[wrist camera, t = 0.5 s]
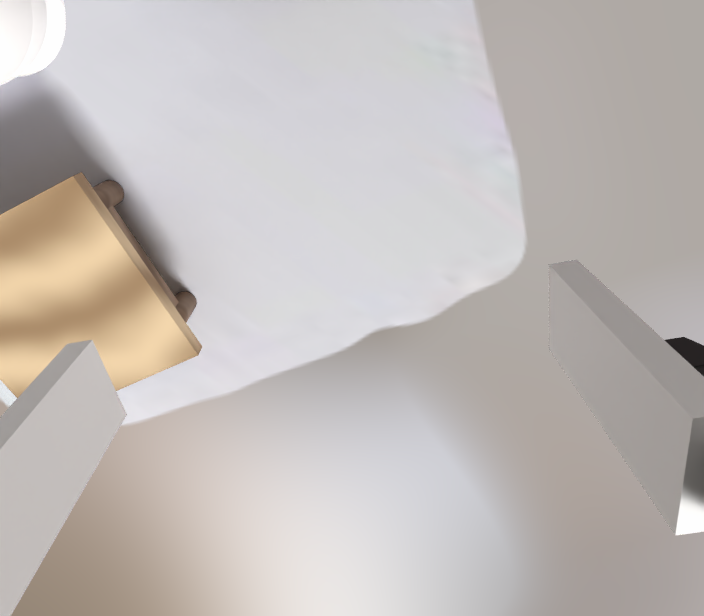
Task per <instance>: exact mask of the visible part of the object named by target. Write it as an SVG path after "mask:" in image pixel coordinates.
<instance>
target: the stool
mask: <svg viewBox="0 0 704 616" xmlns="http://www.w3.org/2000/svg"><path fill="white" fill-rule="evenodd" d="M123 198H124V191H123V189H122V187H121V186H120V185H119V184H118V183H117V182H115V181H112V180H107V181H104V182H102V183H100V184H98V185H97V186H95V187H93V188H92V186H91V185H90V183H89V182H88V180H87V179H86V178H85V176H84V175H83V173H82V172H81V173H79V174H76V175H74V176H72V177H70V178H68V179H66V180H65V181H63V182H61V183H59V184H57V185H55V186H53V187H51V188H50V189H48V190H46V191H44V192H42V193H40V194H38V195H36V196H35V197H33V198H31V199H29V200H27V201H25V202H23V203H21V204H19V205H18V206H16V207H14V208H12V209H10V210H8V211H6V212H4V213H3V214H1V215H0V380H1V381H2V382H3V383H4V384H5V385H6V386H7V387H8V388H9V390H10V391H11V392H12V393H13V394H14V395H15V396H16V397H17V398H18V397H19V396H20V395H21V394H22V393H23V392H24V391H25V390H26V388H27V387H28V386H29V385H30V384H31V383H32V382H33V381H34V380H35V379H36V377H37V376H38V375H39V374H40V373H41V372H42V371H43V370H44V369H45V368H46V366H47V365H48V364H49V363H50V362H51V361H52V360H53V359H54V358H55V357H56V356H57V354H58V353H59V352H60V351H61V350H62V349H63V348H64V347H65V346H66V345H67V344H69V343H75V342H81V341H87V340H93V342H94V345H95V347H96V349H97V351H98V353H99V355H100V358H101V360H102V362H103V364H104V366H105V368H106V371H107V373H108V375H109V377H110V379H111V381H112V384H113V386H114V388H115V390H116V391H117V390H120V389H122V388H124V387H126V386H129V385H131V384H133V383H136V382H138V381H140V380H142V379H145V378H147V377H149V376H152V375H154V374H156V373H158V372H161V371H163V370H165V369H168V368H170V367H172V366H175V365H177V364H179V363H181V362H184V361H186V360H188V359H191V358H193V357H195V356H197V355H198V354H199V352H200V350H201V348H202V346H201V344H200V343H199V341H198V340H197V338H196V337H195V336H194V334H193V333H192V331H191V330H190V328H189V327H188V325H187V324H186V322H187V320H188V319H189V317H190V315H191V314H192V312H193V310H194V308H195V307H196V304H197V302H196V298H195V297H194V296H193V295H192V294H191V293H189V292H179V293H178V294H177V295H176V296H174V294H173V293H172V291H171V290H170V289H169V287H168V286H167V284H166V283H165V281H164V280H163V278H162V277H161V275H160V274H159V272H158V271H157V270H156V268H155V267H154V265H153V264H152V262H151V261H150V259H149V258H148V256H147V255H146V253H145V252H144V250H143V249H142V248H141V246H140V245H139V243H138V242H137V240H136V239H135V237H134V236H133V234H132V233H131V231H130V230H129V229H128V227H127V226H126V224H125V223H124V221H123V220H122V218H121V217H120V215H119V214H118V212H117V211H116V209H115V208H114V206H115V205H117V204H118V203H120V202H121V201H122V200H123Z"/></svg>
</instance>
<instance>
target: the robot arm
mask: <svg viewBox="0 0 704 616" xmlns="http://www.w3.org/2000/svg"><path fill="white" fill-rule="evenodd" d="M549 350H550V351H551V352H552V354H553V355H554V357H555V358H556V360H557V361H558V363H559V364H560V366H561V367H562V369H563V370H564V372H565V373H566V375H567V376H568V378H569V379H570V381H571V382H572V384H573V385H574V386H575V388H576V389H577V391H578V392H579V394H580V395H581V397H582V398H583V400H584V401H585V403H586V404H587V406H588V407H589V409H590V410H591V412H592V413H593V414H594V416H595V417H596V419H597V420H598V422H599V423H600V425H601V426H602V428H603V429H604V431H605V432H606V434H607V435H608V437H609V438H610V439H611V441H612V443H613V444H614V445H615V447H616V448H617V450H618V451H619V453H620V454H621V456H622V457H623V459H624V460H625V462H626V463H627V465H628V466H629V468H630V469H631V471H632V472H633V473H634V475H635V476H636V478H637V479H638V481H639V482H640V484H641V485H642V487H643V488H644V490H645V491H646V493H647V494H648V496H649V497H650V499H651V500H652V501H653V503H654V504H655V506H656V507H657V509H658V510H659V512H660V513H661V515H662V516H663V518H664V519H665V521H666V522H667V524H668V525H669V527H670V528H671V530H672V531H673V533H674V534H675V535H681V534H689V533H696V532H704V346H703V345H701V344H699V343H697V342H694V341H692V340H690V339H687V338H685V337H681V338H674V339H668V340H663V339H662V338H661V337H660V336H659V335H658V334H657V333H656V332H655V331H654V330H652V328H650V327H649V326H648V325H647V324H646V323H645V322H644V321H643V320H642V319H641V318H640V317H639V316H637V315H636V314H635V313H634V312H633V311H632V310H631V309H630V308H629V307H628V306H627V305H625V304H624V303H623V302H622V301H621V300H620V299H619V298H618V297H617V296H616V295H615V294H614V293H612V292H611V291H610V290H609V289H608V288H607V287H606V286H605V285H604V284H603V283H602V282H601V281H599V280H598V279H597V278H596V277H595V276H594V275H593V274H592V273H591V272H589V270H588V269H586V268H585V267H584V266H583V265H582V264H581V263H580V262H579V261H578V260H572V261H566V262H561V263H554V264H549ZM126 415H127V414H126V412H125V410H124V408H123V405H122V403H121V401H120V399H119V397H118V395H117V392H116V390H115V388H114V386H113V384H112V381H111V379H110V377H109V375H108V373H107V371H106V368H105V366H104V364H103V362H102V360H101V358H100V355H99V353H98V351H97V349H96V347H95V345H94V342H93V340H87V341H81V342H75V343H69V344H67V345H66V346H65V347H64V348H63V349H62V350H61V351H60V352H59V353H58V354H57V356H56V357H55V358H54V359H53V360H52V361H51V362H50V363H49V364H48V365H47V366H46V368H45V369H44V370H43V371H42V372H41V373H40V374H39V375H38V376H37V377H36V379H35V380H34V381H33V382H32V383H31V384H30V385H29V386H28V387H27V388H26V390H25V391H24V392H23V393H22V394H21V395H20V396H19V397H18V398H17V399H16V401H15V402H14V403H13V404H12V405H11V406H10V407H9V408H8V409H7V410H6V412H5V413H4V414H3V415H2V416H1V417H0V616H11V614H12V613H13V611H14V609H15V607H16V606H17V604H18V602H19V600H20V599H21V597H22V595H23V593H24V592H25V590H26V588H27V587H28V585H29V583H30V581H31V580H32V578H33V576H34V574H35V573H36V571H37V569H38V567H39V566H40V564H41V562H42V561H43V559H44V557H45V555H46V553H47V552H48V550H49V548H50V547H51V545H52V543H53V542H54V540H55V538H56V536H57V534H58V533H59V531H60V529H61V528H62V526H63V524H64V522H65V521H66V519H67V517H68V516H69V514H70V512H71V510H72V509H73V507H74V505H75V503H76V502H77V500H78V498H79V496H80V495H81V493H82V491H83V489H84V488H85V486H86V484H87V483H88V481H89V479H90V477H91V476H92V474H93V472H94V471H95V469H96V467H97V465H98V464H99V462H100V460H101V458H102V457H103V455H104V453H105V451H106V450H107V448H108V446H109V445H110V443H111V441H112V439H113V438H114V436H115V434H116V432H117V431H118V429H119V427H120V425H121V424H122V422H123V420H124V419H125V417H126Z"/></svg>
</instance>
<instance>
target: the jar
mask: <svg viewBox="0 0 704 616" xmlns="http://www.w3.org/2000/svg"><path fill="white" fill-rule="evenodd" d="M65 29H66V13H65V6H64V1H63V0H0V85H2V84H5V83H7V82H9V81H11V80H13V79H14V78H16V77H22V76H28V75H31V74H34V73H37V72H39V71H41V70H42V69H44V68H45V67H47V66H48V65H49V64H50V63H51V62H52V61H53V60H54V58H55V57H56V55H57V54H58V52H59V50H60V48H61V46H62V43H63V40H64V35H65Z"/></svg>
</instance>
